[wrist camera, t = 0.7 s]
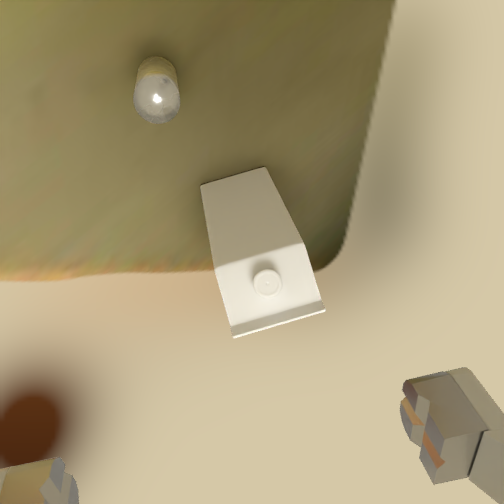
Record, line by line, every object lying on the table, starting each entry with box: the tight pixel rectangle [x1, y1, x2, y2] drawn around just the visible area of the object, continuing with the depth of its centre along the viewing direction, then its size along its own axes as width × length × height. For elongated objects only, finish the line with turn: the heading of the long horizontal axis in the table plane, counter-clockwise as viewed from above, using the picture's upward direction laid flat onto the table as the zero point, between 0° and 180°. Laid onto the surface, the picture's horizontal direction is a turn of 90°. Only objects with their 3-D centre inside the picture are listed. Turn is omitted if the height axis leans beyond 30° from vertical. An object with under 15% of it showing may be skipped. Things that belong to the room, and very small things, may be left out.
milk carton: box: [200, 167, 326, 338], centre depth 40 cm, size 7×7×19 cm
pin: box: [133, 56, 180, 124], centre depth 36 cm, size 3×3×8 cm
